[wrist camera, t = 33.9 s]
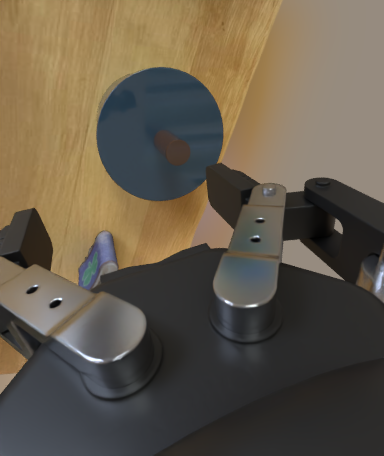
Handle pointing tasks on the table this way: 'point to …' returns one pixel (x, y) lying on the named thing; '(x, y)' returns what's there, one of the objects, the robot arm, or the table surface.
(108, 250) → the flask
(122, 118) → the lid
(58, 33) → the table surface
